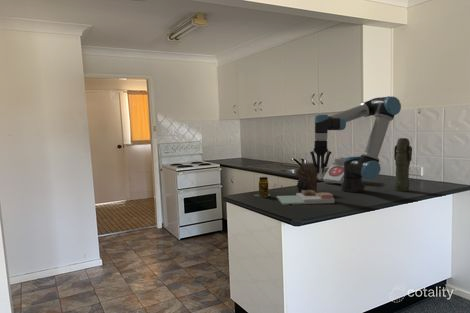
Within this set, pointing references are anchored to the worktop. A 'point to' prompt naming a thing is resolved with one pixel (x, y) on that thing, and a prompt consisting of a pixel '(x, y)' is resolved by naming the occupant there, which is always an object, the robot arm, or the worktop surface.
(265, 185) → the condiment
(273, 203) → the worktop surface
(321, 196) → the terracotta tile
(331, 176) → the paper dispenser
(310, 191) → the walnut coaster
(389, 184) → the worktop surface
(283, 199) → the mat
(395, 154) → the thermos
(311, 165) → the knife block
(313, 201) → the pale grey square slab
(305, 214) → the worktop surface
